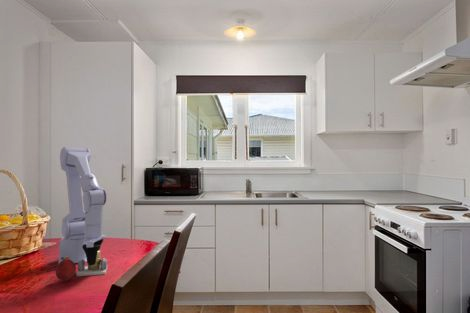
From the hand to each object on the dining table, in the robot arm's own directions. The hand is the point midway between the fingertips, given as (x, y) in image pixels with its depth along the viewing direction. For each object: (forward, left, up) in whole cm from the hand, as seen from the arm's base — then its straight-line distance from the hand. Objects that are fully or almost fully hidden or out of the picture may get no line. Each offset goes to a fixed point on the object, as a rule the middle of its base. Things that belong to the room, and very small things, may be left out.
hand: (92, 262), depth 111 cm
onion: (-7, -8, -3) cm, 11 cm away
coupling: (0, 0, -2) cm, 2 cm away
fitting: (0, 0, -3) cm, 3 cm away
